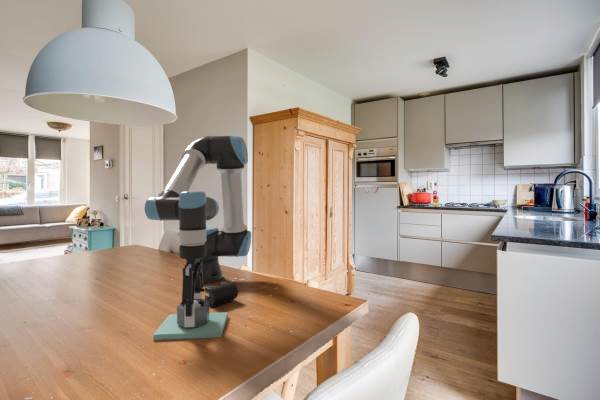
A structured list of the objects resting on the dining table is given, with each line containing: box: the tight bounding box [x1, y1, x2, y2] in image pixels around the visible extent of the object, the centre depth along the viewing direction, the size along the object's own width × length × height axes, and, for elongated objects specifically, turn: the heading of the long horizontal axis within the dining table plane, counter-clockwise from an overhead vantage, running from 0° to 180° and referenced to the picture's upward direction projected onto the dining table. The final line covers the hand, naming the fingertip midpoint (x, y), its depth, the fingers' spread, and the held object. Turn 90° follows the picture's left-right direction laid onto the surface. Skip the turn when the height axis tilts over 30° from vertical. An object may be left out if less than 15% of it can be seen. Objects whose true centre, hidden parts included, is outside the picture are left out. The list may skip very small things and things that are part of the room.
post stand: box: [152, 300, 229, 341], centre depth 92 cm, size 14×18×8 cm
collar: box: [176, 298, 210, 327], centre depth 92 cm, size 8×8×5 cm
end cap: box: [204, 281, 239, 308], centre depth 112 cm, size 10×7×7 cm
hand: (193, 319), depth 92 cm, fingers closed on collar, 8 cm apart
